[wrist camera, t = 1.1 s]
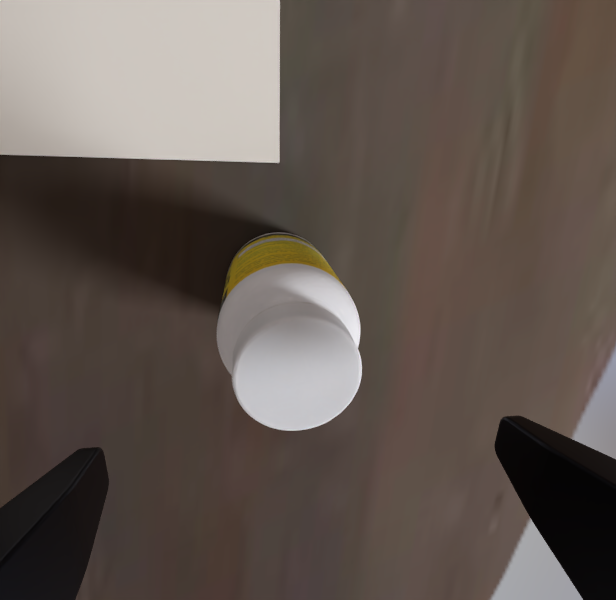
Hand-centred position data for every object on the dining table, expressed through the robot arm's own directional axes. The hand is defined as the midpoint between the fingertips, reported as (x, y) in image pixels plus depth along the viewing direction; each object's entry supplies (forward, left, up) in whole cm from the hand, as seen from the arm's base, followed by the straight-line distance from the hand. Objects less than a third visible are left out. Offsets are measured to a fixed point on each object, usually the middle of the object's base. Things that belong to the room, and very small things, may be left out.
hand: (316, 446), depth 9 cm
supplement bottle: (0, 0, -13) cm, 13 cm away
